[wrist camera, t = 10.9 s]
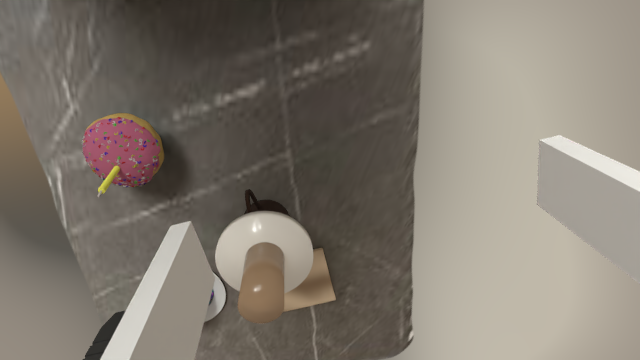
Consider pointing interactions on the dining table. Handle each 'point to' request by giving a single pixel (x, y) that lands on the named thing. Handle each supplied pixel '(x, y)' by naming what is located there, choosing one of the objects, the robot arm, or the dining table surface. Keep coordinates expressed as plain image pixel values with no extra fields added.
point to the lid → (263, 261)
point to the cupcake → (122, 150)
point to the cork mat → (312, 286)
